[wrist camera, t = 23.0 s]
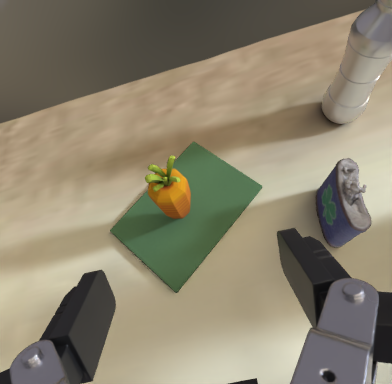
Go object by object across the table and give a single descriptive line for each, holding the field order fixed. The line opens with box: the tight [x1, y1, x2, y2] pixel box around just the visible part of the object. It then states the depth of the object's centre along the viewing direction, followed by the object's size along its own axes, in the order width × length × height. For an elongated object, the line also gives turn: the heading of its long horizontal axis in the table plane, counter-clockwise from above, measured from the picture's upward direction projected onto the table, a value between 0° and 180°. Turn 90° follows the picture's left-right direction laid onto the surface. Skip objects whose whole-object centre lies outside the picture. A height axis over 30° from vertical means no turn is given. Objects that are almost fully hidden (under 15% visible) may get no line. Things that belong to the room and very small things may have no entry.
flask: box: [316, 158, 371, 247], centre depth 35 cm, size 9×3×11 cm, turn 0°
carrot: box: [145, 156, 191, 219], centre depth 35 cm, size 5×5×15 cm
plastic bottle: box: [322, 0, 392, 124], centre depth 38 cm, size 6×7×20 cm
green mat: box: [110, 142, 262, 293], centre depth 43 cm, size 14×20×1 cm
